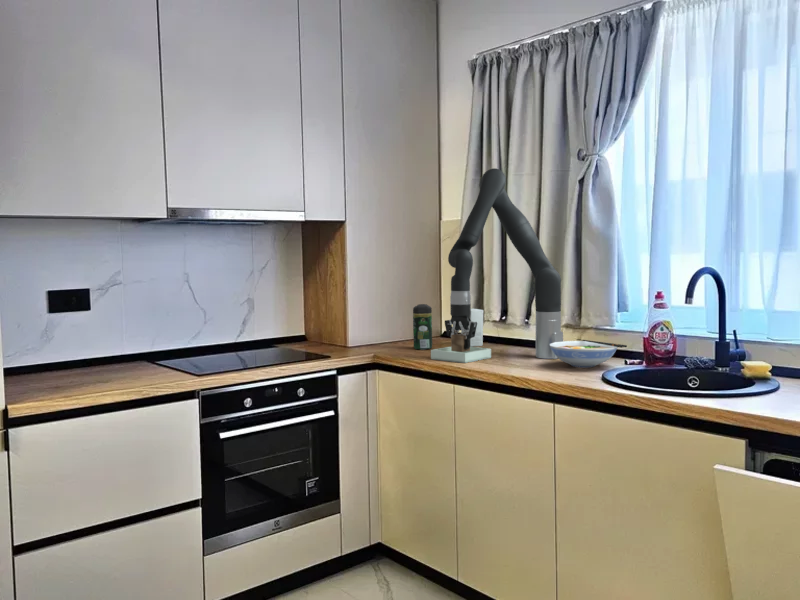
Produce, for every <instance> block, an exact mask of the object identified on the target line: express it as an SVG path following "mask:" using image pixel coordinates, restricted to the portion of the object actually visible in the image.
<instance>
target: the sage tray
mask: <svg viewBox="0 0 800 600" xmlns="http://www.w3.org/2000/svg"><path fill="white" fill-rule="evenodd" d="M491 358H492V348H487V347H480V346H473V347H470V351H466V352H456V351H451V346H445V347H440V348H434V349H430V359H431V360H435V361H445V362H451V363H458V364H459V363H461V364H467V363H468V362H469V363H472V362H477V361H478V360H479V361H483V359H484V360H488V359H491Z"/></svg>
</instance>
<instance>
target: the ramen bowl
mask: <svg viewBox="0 0 800 600" xmlns="http://www.w3.org/2000/svg"><path fill="white" fill-rule="evenodd" d="M550 347H551V349H552V351H553V353H554V354H555V355H556V356H557V359H559V360H560V361H562V362H564V363H566V364H569V365H571V366H572V367H574V368H585V369H587V368H589V369H590V368H594V367H596V366H598V365H600V364H603V363H606V362H607V361H609V360H610V359H611V358H612V357H613V356H614V355H615V354H616V351H617V349H618V348H627V347H628V346H627V345H626V344H621V343H620V344H619V343H613V342H612V343H611V342H604V341H595V340H588V339H579V338H576V339H575V340H567V341H565V340H563V342H554V343H551V344H550Z"/></svg>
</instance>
